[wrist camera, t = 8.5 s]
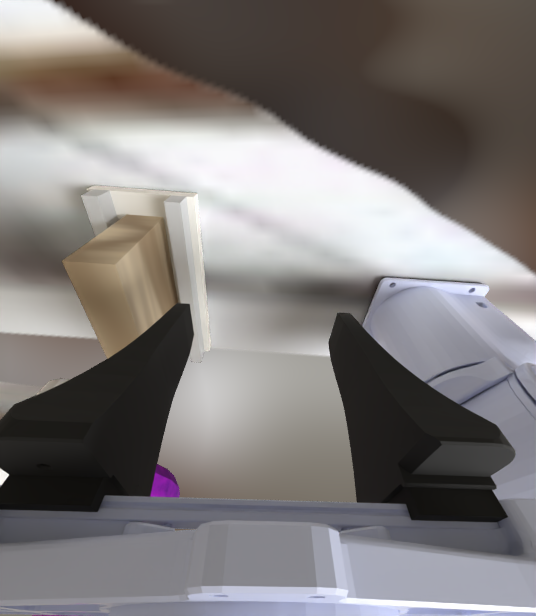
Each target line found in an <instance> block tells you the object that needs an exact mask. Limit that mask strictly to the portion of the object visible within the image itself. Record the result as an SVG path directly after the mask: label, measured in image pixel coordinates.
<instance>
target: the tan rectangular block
mask: <svg viewBox="0 0 536 616" xmlns="http://www.w3.org/2000/svg"><path fill="white" fill-rule="evenodd" d="M62 263H63V265H64V267H65V269H66V271H67V274H68V276H69V278H70V280H71V282H72V284H73V286H74V289H75V291H76V293H77V295H78V297H79V299H80V301H81V304H82V306H83V308H84V310H85V312H86V314H87V316H88V319H89V321H90V323H91V325H92V327H93V329H94V331H95V334H96V336H97V338H98V340H99V342H100V344H101V346H102V349H103V351H104V353H105V355H106V357H107V359H108V358H109V357H111V356H113V355H114V354H116V353H117V352H119V351H120V350H122V349H123V348H124V347H126V346H127V345H129V344H130V343H131V342H133V341H134V340H135V339H136V338H138V337H139V336H140V335H141V334H143V333H144V332H145V331H146V330H147V329H149V328H150V327H151V326H152V325H153V324H154V323H155V322H157V321H158V320H159V319H160V318H161V317H162V316H163V315H164V314H165V313H166V312H167V311H169V310H170V309H171V308H172V307H173V306H174V305H175V304H176V303H178V297H177V291H176V286H175V280H174V274H173V269H172V263H171V257H170V252H169V246H168V240H167V235H166V229H165V223H164V217H155V216H141V215H128V214H127V215H125V216H124V217H123V218H121V219H120V220H118V221H117V222H116V223H114V224H113V225H111V226H110V227H109V228H107V229H106V230H104V231H103V232H102V233H100V234H99V235H97V236H96V237H95V238H93V239H92V240H90V241H89V242H88V243H86V244H85V245H83V246H82V247H81V248H79V249H78V250H76V251H75V252H74V253H72V254H71V255H69V256H68V257H67V258H65V259H64V260H62Z"/></svg>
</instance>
